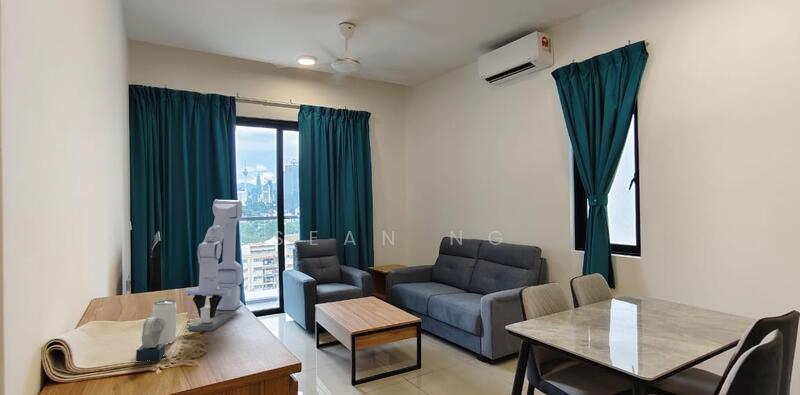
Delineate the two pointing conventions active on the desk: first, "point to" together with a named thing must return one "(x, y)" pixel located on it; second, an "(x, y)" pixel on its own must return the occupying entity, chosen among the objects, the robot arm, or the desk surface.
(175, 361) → the desk surface
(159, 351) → the grey statuette
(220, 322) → the console
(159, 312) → the can
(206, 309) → the fader tab
